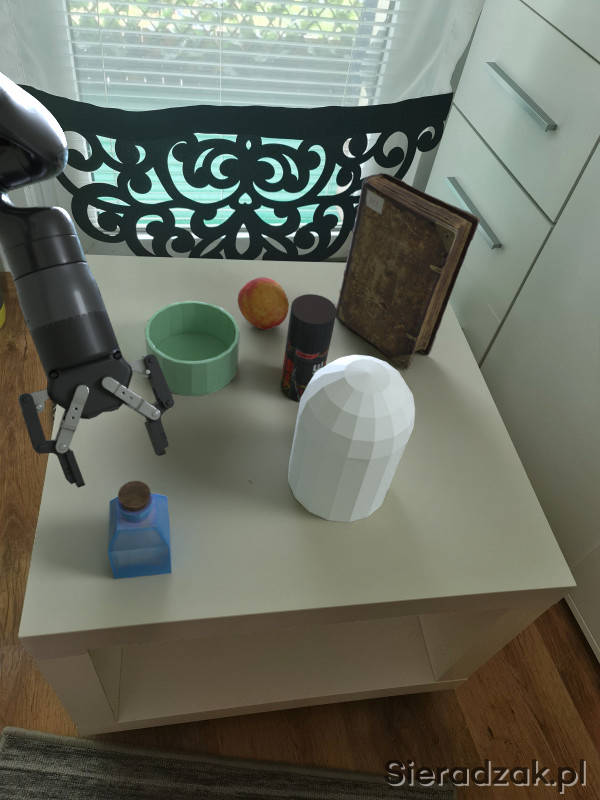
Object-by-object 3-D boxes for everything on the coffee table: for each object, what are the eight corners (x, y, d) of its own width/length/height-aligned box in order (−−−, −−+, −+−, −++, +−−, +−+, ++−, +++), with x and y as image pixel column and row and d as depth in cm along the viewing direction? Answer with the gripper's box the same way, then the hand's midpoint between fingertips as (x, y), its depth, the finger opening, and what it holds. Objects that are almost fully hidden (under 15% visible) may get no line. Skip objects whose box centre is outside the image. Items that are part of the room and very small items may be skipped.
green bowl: (170, 407, 85) (168, 375, 80) (134, 348, 92) (130, 315, 87) (252, 378, 91) (255, 346, 86) (213, 324, 97) (213, 292, 93)
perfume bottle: (169, 524, 73) (164, 466, 64) (171, 573, 69) (166, 517, 60) (115, 529, 72) (103, 470, 63) (114, 579, 68) (100, 523, 59)
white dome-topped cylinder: (409, 496, 80) (455, 393, 65) (324, 540, 74) (354, 438, 59) (349, 424, 87) (379, 316, 72) (268, 460, 81) (282, 350, 66)
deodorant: (295, 366, 93) (308, 288, 82) (327, 386, 91) (345, 308, 80) (272, 388, 90) (281, 309, 79) (304, 408, 88) (319, 330, 77)
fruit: (278, 302, 103) (283, 263, 97) (292, 335, 98) (298, 295, 92) (232, 308, 100) (234, 268, 95) (245, 341, 96) (247, 301, 90)
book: (329, 315, 102) (357, 175, 84) (358, 299, 106) (391, 162, 87) (403, 374, 95) (452, 235, 76) (432, 355, 99) (485, 218, 80)
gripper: (-9, 334, 54) (55, 503, 57) (144, 293, 60) (196, 447, 63) (-9, 341, 61) (48, 491, 64) (129, 303, 67) (176, 442, 70)
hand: (122, 469), depth 63 cm, fingers open, 8 cm apart
